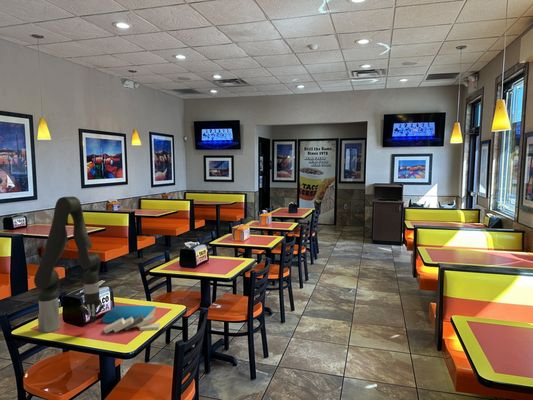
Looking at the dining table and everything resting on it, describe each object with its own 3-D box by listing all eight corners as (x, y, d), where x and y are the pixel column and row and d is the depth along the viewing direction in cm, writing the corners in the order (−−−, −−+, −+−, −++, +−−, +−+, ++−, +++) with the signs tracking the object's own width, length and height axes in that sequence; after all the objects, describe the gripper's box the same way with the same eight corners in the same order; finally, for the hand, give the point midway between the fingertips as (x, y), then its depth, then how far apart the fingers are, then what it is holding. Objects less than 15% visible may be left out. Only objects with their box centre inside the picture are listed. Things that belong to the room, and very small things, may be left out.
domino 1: (103, 330, 197) (121, 321, 199) (105, 326, 202) (122, 317, 203) (105, 333, 197) (123, 324, 199) (107, 329, 202) (124, 320, 204)
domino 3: (124, 327, 200) (141, 317, 202) (124, 324, 204) (141, 314, 207) (126, 330, 200) (143, 320, 203) (126, 327, 205) (143, 317, 207)
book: (115, 305, 228) (155, 305, 227) (115, 312, 228) (156, 312, 227) (102, 317, 211) (145, 316, 210) (102, 324, 211) (146, 323, 210)
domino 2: (113, 329, 198) (130, 320, 200) (114, 325, 203) (131, 316, 205) (115, 332, 198) (132, 323, 200) (116, 328, 203) (133, 319, 205)
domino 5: (139, 328, 201) (158, 326, 202) (141, 324, 206) (160, 323, 207) (139, 331, 201) (158, 330, 202) (141, 327, 206) (160, 326, 207)
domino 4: (136, 324, 202) (154, 315, 206) (135, 322, 206) (153, 313, 210) (138, 327, 202) (156, 319, 206) (136, 325, 206) (154, 317, 211)
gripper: (106, 288, 202) (108, 318, 204) (81, 289, 201) (83, 319, 203) (101, 292, 195) (103, 324, 197) (75, 293, 194) (77, 325, 195)
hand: (93, 322), depth 200 cm, fingers closed
